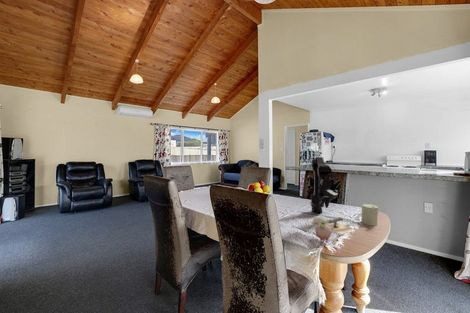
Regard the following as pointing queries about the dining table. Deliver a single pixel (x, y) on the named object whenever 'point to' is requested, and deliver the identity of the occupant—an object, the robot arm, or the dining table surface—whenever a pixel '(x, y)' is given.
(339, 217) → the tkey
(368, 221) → the can
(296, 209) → the dining table surface
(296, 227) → the mat
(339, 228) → the board
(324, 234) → the decorative fruit
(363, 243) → the dining table surface
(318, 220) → the cover
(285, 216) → the dining table surface
